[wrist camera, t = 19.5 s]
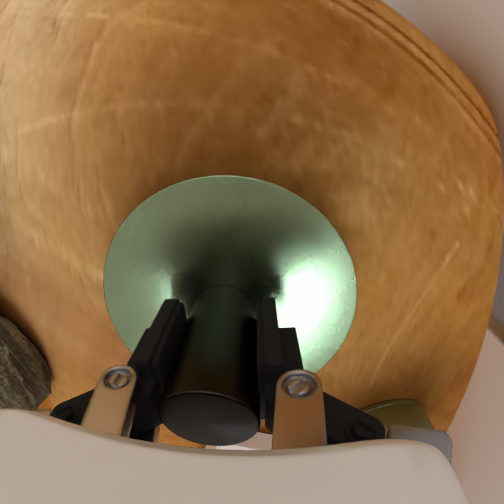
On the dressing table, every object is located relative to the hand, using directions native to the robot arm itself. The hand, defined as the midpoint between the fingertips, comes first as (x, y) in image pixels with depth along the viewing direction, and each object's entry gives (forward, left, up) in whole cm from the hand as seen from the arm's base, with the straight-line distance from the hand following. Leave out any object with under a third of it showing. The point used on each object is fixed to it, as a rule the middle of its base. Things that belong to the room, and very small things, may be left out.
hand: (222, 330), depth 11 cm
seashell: (+18, +7, -4) cm, 20 cm away
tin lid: (0, 0, -2) cm, 2 cm away
